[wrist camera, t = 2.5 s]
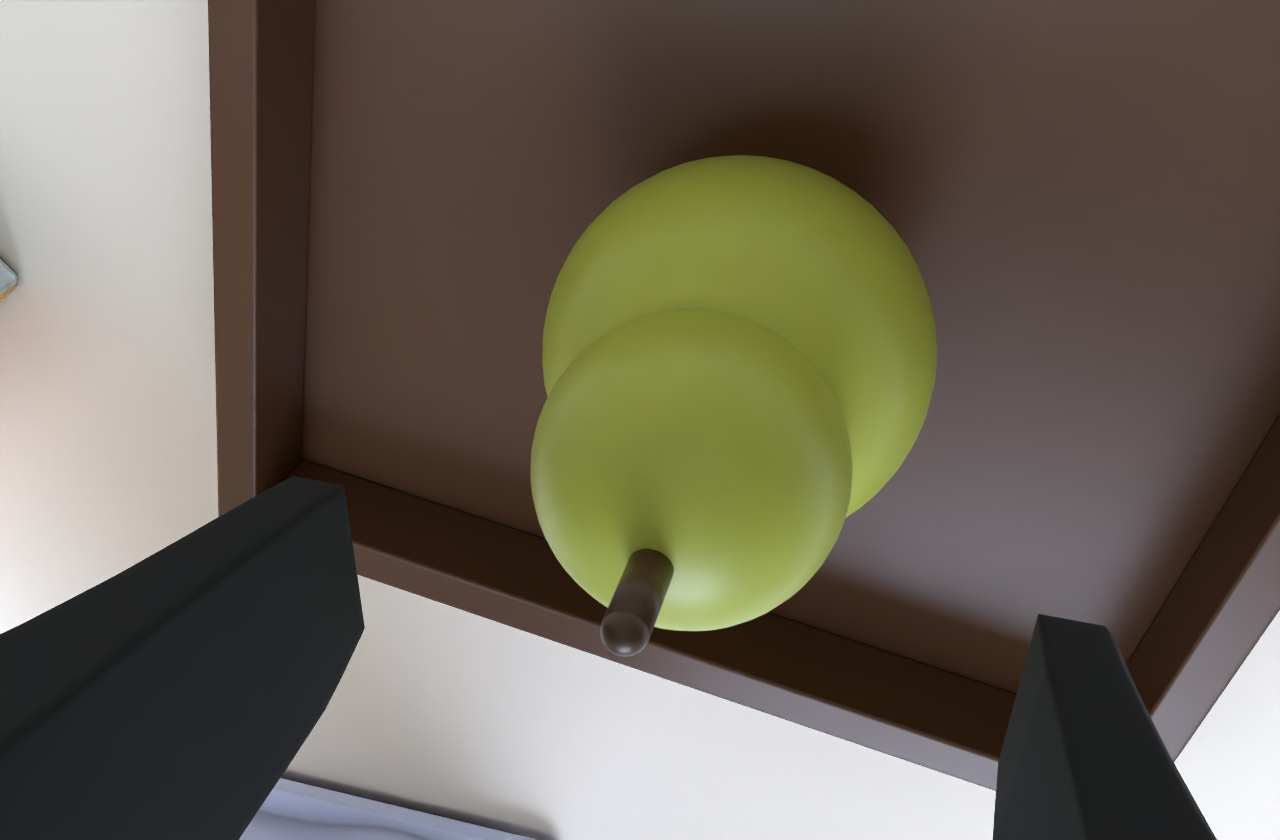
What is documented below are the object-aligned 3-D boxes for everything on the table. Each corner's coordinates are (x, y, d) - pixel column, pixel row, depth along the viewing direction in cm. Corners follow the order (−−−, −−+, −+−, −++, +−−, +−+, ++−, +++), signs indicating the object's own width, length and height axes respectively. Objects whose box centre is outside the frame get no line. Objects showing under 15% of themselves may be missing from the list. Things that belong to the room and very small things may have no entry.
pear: (609, 384, 21) (388, 776, 14) (611, 80, 18) (331, 367, 11) (920, 433, 20) (864, 888, 12) (975, 116, 17) (945, 466, 10)
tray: (277, 463, 25) (217, 528, 23) (292, -449, 16) (196, -463, 14) (1115, 740, 23) (1125, 836, 21) (1665, -122, 14) (1766, -89, 12)
